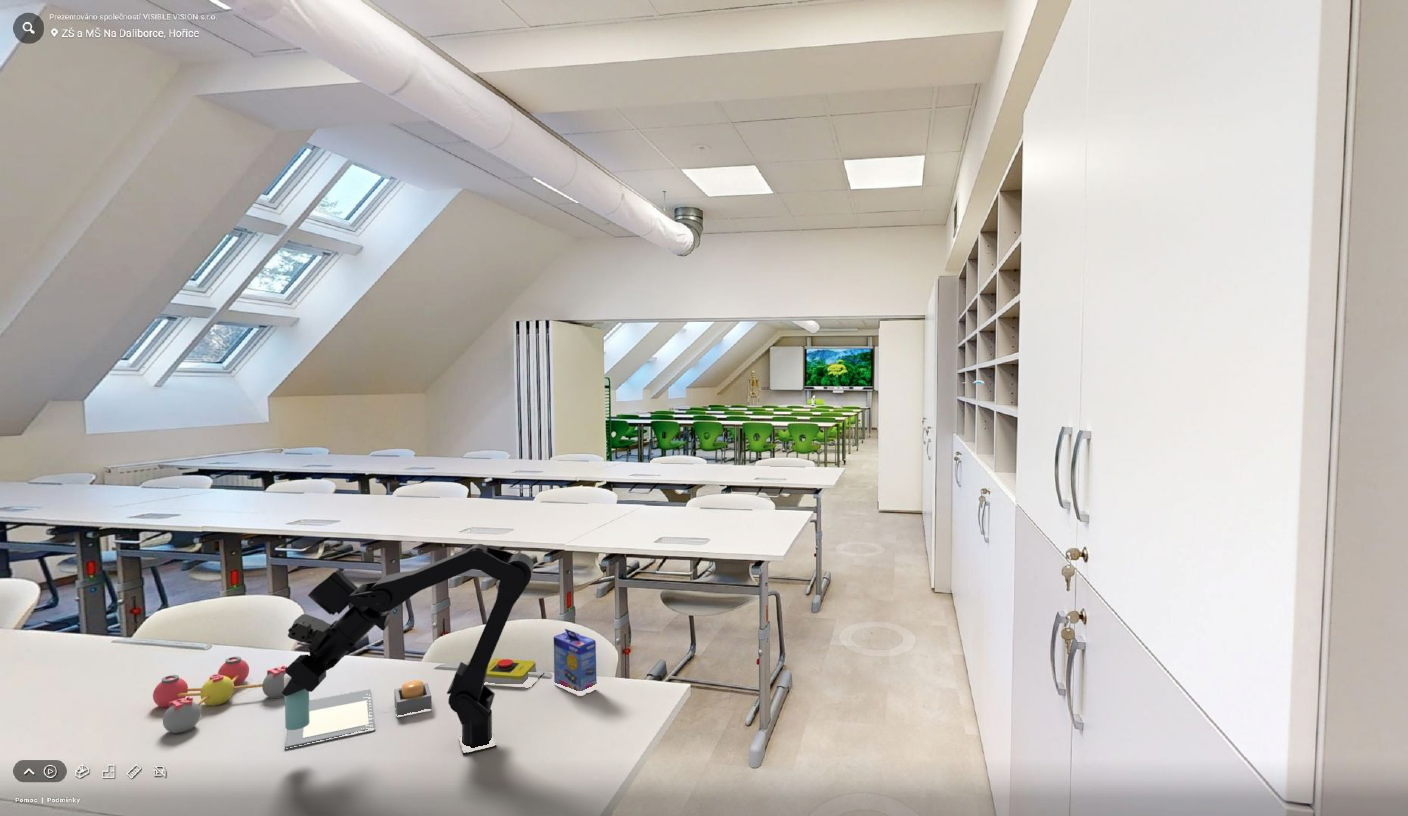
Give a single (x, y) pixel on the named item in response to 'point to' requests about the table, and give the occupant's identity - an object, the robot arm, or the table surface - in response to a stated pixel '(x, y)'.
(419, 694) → the button
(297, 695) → the white-capped teal tube
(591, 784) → the table surface
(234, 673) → the molecule model
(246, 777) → the table surface
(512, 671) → the emergency button
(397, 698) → the button housing
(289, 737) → the drawing board
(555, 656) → the ink cartridge box
